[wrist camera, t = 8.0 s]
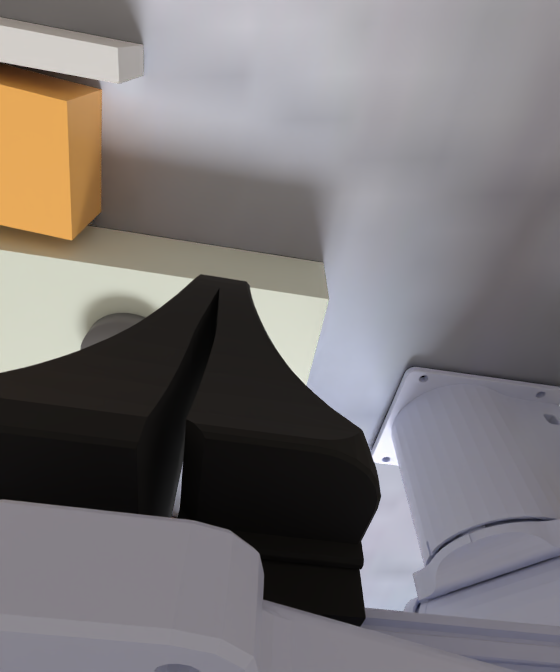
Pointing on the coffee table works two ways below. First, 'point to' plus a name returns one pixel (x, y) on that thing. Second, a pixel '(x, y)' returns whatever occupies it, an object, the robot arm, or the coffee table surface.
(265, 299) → the white notched block
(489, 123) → the coffee table surface
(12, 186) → the chute block
